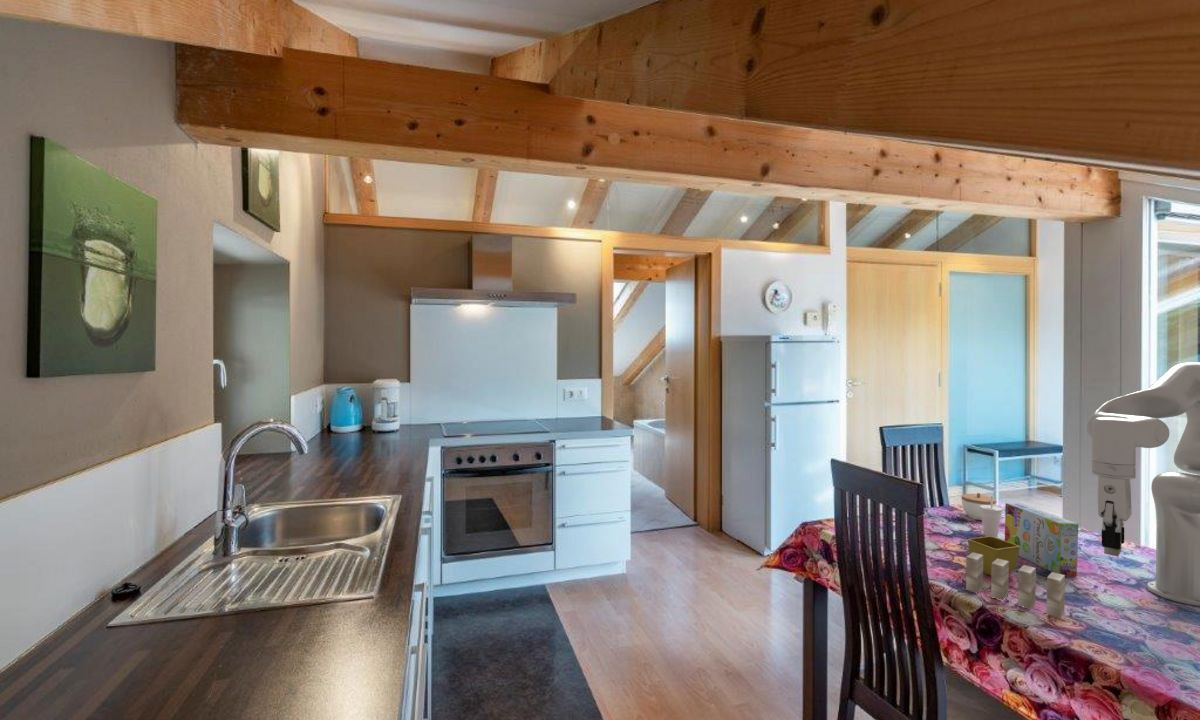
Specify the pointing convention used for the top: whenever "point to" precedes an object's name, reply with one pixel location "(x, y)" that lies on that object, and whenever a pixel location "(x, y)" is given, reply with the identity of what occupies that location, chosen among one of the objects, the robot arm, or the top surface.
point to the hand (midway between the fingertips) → (1113, 544)
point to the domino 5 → (1110, 550)
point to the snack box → (1043, 538)
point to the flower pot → (994, 551)
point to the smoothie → (991, 519)
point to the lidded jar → (975, 504)
